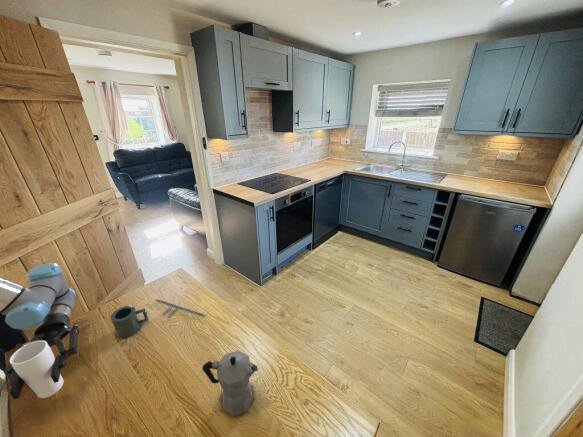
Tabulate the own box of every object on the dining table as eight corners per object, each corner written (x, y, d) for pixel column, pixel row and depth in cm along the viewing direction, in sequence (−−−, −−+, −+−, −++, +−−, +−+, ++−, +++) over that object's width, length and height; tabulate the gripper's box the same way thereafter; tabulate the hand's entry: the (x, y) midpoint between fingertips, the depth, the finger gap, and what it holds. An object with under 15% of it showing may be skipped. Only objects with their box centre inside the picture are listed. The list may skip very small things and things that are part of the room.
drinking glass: (74, 377, 68) (54, 341, 62) (50, 404, 62) (25, 366, 56) (52, 375, 69) (31, 338, 63) (26, 400, 63) (0, 362, 57)
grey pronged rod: (195, 323, 93) (203, 314, 98) (146, 307, 100) (156, 299, 105) (195, 326, 93) (204, 317, 98) (147, 309, 101) (157, 302, 105)
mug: (117, 342, 87) (110, 324, 83) (117, 328, 92) (110, 310, 89) (150, 329, 92) (145, 312, 89) (148, 316, 98) (143, 299, 94)
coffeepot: (262, 384, 74) (260, 344, 67) (256, 420, 66) (253, 378, 58) (214, 380, 75) (207, 340, 68) (202, 415, 66) (192, 373, 59)
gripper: (95, 319, 82) (89, 375, 65) (16, 345, 72) (-17, 420, 55) (89, 302, 79) (80, 356, 62) (4, 327, 69) (-34, 401, 52)
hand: (35, 386), depth 58 cm, fingers closed on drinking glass, 6 cm apart
